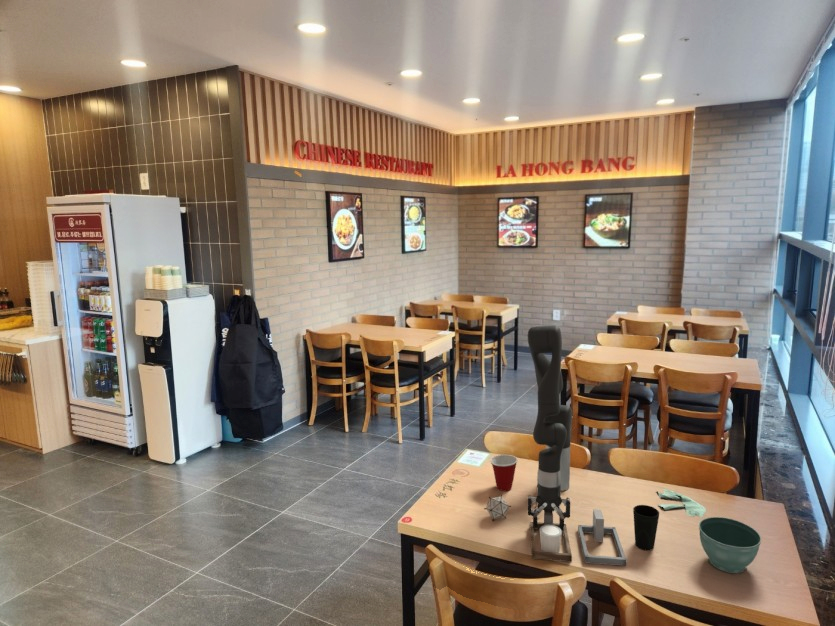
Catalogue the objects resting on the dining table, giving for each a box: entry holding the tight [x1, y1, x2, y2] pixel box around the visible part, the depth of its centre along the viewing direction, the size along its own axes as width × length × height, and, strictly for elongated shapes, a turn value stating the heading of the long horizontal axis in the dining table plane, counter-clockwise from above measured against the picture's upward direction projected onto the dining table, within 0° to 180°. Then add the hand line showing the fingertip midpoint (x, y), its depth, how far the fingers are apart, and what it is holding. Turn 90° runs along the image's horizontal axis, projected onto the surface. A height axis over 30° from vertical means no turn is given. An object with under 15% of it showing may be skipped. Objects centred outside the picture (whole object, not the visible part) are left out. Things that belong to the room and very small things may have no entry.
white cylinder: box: [539, 525, 563, 553], centre depth 173 cm, size 7×7×7 cm
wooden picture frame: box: [529, 510, 573, 563], centre depth 176 cm, size 18×12×8 cm, turn 171°
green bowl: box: [698, 516, 762, 574], centre depth 164 cm, size 16×16×11 cm
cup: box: [632, 504, 660, 552], centre depth 174 cm, size 8×8×12 cm
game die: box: [483, 493, 512, 522], centre depth 193 cm, size 9×8×10 cm
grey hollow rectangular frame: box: [577, 508, 627, 567], centre depth 174 cm, size 18×12×8 cm, turn 171°
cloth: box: [655, 488, 707, 518], centre depth 201 cm, size 20×22×2 cm
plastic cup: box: [489, 454, 518, 492], centre depth 215 cm, size 11×11×12 cm
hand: (548, 527), depth 183 cm, fingers open, 7 cm apart
